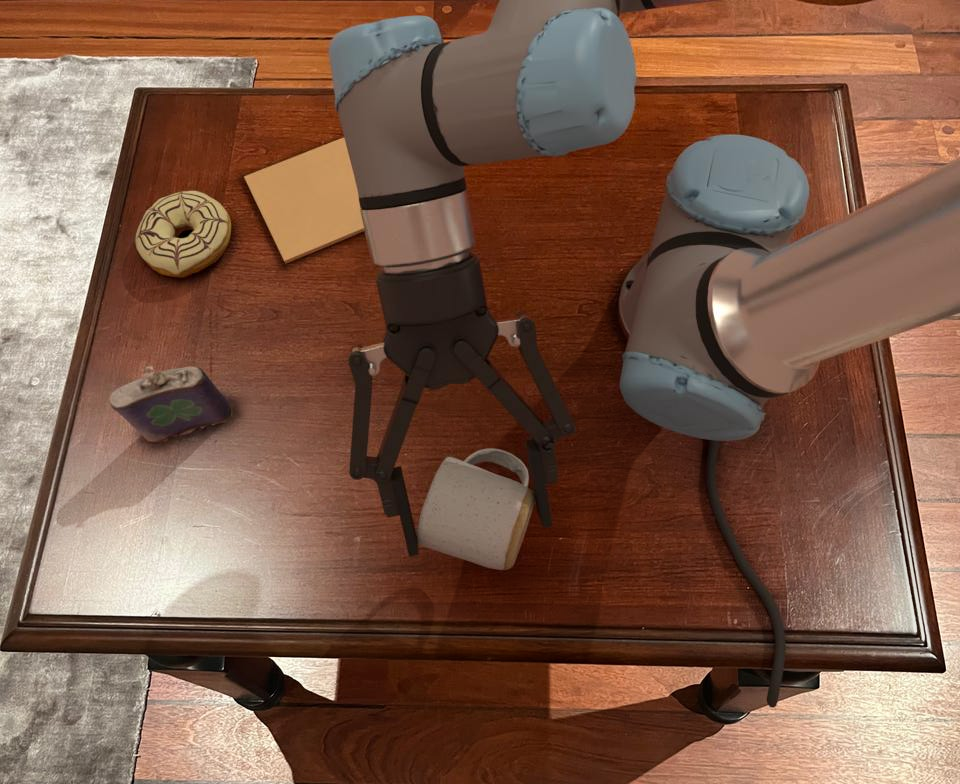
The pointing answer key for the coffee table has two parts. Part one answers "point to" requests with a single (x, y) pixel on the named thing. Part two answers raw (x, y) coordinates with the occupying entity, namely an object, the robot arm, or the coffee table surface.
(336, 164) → the cork mat
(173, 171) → the coffee table surface
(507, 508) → the ceramic mug
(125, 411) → the flask
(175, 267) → the decorated donut
